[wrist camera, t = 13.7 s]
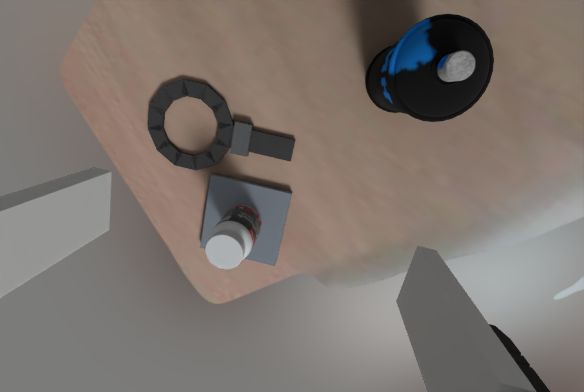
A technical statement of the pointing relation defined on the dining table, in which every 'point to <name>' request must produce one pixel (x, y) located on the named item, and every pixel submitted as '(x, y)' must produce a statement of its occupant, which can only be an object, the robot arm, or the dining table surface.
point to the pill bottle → (233, 237)
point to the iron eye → (228, 133)
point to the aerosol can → (433, 69)
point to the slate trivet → (256, 196)
